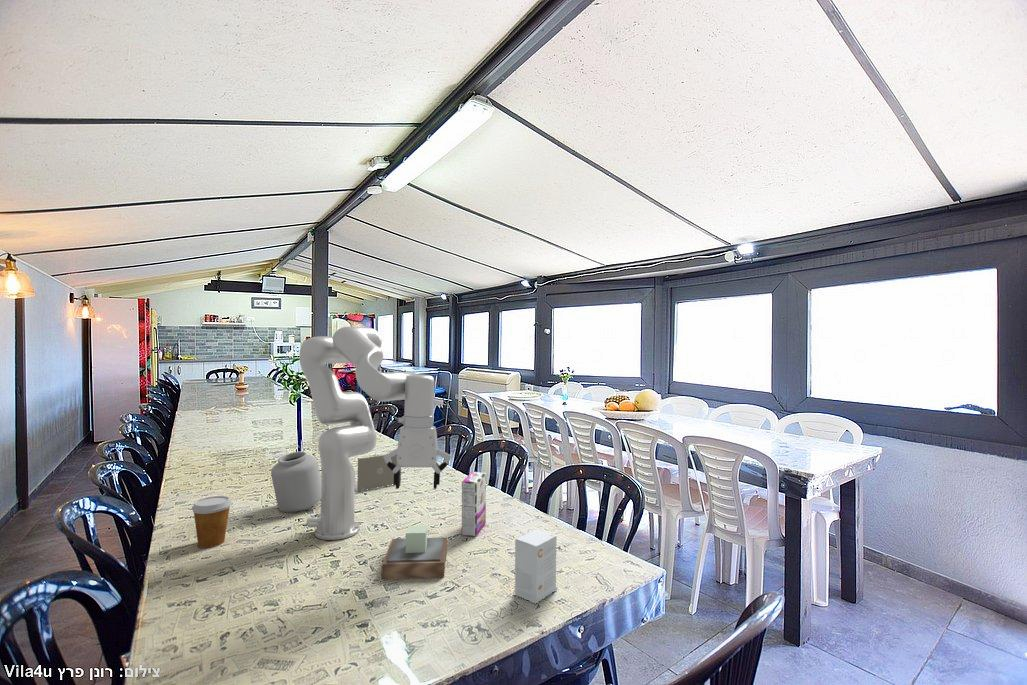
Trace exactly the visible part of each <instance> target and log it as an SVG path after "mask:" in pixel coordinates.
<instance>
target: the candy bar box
mask: <svg viewBox="0 0 1027 685" xmlns="http://www.w3.org/2000/svg"><path fill="white" fill-rule="evenodd" d="M486 475H487V473H486V472H480V471H471V472H470V473H469V474H468V475H467V476H466V478H464V479H463V480H462V481H461V536H464V535H465V536H466V537H475V538H476V537H477V536H478V535H479V533H480V532H481V531H482V529H483V527H484V526H485V525H486V524H487V523H486V522H487V521H486V520H487V519H486V518H487V517H486V514H487V510H486V509H487V508H486V507H487V506H486V505H487V503H486V502H487V501H486V500H487V498H486V497H487V492H486V491H487V490H486V489H487V487H486V486H487V485H486V484H487V483H486V482H487V477H486ZM465 536H464V537H465Z"/></svg>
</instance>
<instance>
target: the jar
mask: <svg viewBox="0 0 1027 685" xmlns="http://www.w3.org/2000/svg"><path fill="white" fill-rule="evenodd" d="M290 438H291V439H290V441H293V437H292V436H290ZM294 444H295V446H297V447H298V448H300V445H297V443H294ZM300 449H301V450H302V449H303V448H300ZM279 450H280V452H281V451H282V450H281V448H278V451H279ZM320 472H321V470H320V468H319V461H318V459H317V458H316V457H315V456H313V455H311V454H308V452H306V451H305V450H304V451H303V450H302V451H299V450H298V451H293V452H290V453H287V454H284V455H283V456H282V455H281V457H279V458H278V459H277V463H276V464H274V466H273V467H272V468H271V471H270V476H271V480H272V484H273V490H274V494H275V500H276V504H277V507H278V509H279V510H280V511H282V512H285V513H297V512H302V511H306V510H307V509H310V508H312V507H315V506H316V505H317V504H319V502H321V473H320ZM274 513H275V512H273V513H272V514H274ZM274 518H275V519H276V516H274Z"/></svg>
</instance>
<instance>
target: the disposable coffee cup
mask: <svg viewBox="0 0 1027 685" xmlns="http://www.w3.org/2000/svg"><path fill="white" fill-rule="evenodd" d="M232 504H233V503H232V500H231V497H230V496H227V495H213V496H209V497H203V498H200V499H197V500H195V501H194V502H193V506H192V507H191V510H192V513H193V517H194V524H195V531H196V538H197V547H198V548H204V549H205V548H206V549H207V548H213V547H216V546H219V545H222V544H223V543H224V542H225V538H226V532H227V525H228V522H229V521H228V519H229V514H230V508H231V506H232Z"/></svg>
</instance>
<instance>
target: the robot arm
mask: <svg viewBox="0 0 1027 685" xmlns="http://www.w3.org/2000/svg"><path fill="white" fill-rule="evenodd" d="M382 340H383V339H382V337H381V335H380V333H379V332H378V331H377V330H376V329H375V328H372V327H368V326H367V327H366V326H343V327H340V328H338V329H337V330H335V332H334V333H333V335H332V336H330V335H329V336H326V335H325V336H324V335H323V336H313V337H310V338H307V339H305V340H304V341H303V342H302V343H301V346H300V349H299V356H298V357H299V363H300V368H301V371H302V373H303V375H304V376H305V379H306V381H307V383H308V386H309V391H310V394H311V399H312V403H313V406H314V410H315V414H316V417H317V419H318V421H319V422H320V423H321V424H322V425H337V424H345V423H349V425H344V426H343V425H342V426H336V427H332V428H329V429H327V430H325V431H323V432H322V433H321V435H320V436H319V438H318V442H317V444H318V454H319V457H320V468H321V470H320V472H321V473H320V476H321V500H320V516H318V517H307V519H306V521H305V523H306V524H305V525H307V527H308V528H313V527H314V528H316V529H315V530H314V535H315V537H316V538H317V539H320V540H324V541H325V540H326V541H335V540H344V539H347V538H350V537H352V536H354V535H356V534H358V533H359V531H360V524H359V523H357V522H356V521H355V508H356V507H355V503H356V501H355V499H356V494H355V492H356V491H355V482H356V472H355V469H354V468H355V467H354V466H353V465H352V463H351V462H350V460H349V458H351V457H357V456H361V455H365V454H368V453H370V452H372V451H373V450H374V449H375V447H376V444H377V432H376V429H375V426H374V422H373V418H372V413H371V409H370V406H369V404H368V401H367V399H366V398H365V396H364V395H363V394H362V393H360V392H357V391H346V392H344V391H342V389H341V386H340V381H339V379H338V376H337V375H336V374H335V373H334V372H333V370H332V369H330V367H328V366H327V364H350V363H351V365H353V367H355V378H356V379H355V380H356V382H357V385H358V386H359V388H360V389H361V390H362V391H363V392H365V394H366V395H368V396H369V397H370V398H371V399H373V400H374V401H376V402H380V403H381V402H384V403H385V402H391V401H393V402H394V401H401V400H404V408H403V409H404V410H403V416H401V417H399V416H398V419H397V421H398V423H401V424H402V425H403V426H401V427H400V430H399V434H398V439H397V448H396V449H393V450H391V451H389V452H387V453H385V454H383V455H384V460H385V462H386V463H387V466H388V467H389V468H390V469H391V470H392V472H393V473H394V485H393V486H395V490H398V489H399V488H400V487H401V483H400V478H401V479H402V470H401V471H400V468H401V469H402V468H432V469H433V470H434V473H433V489H434V490H437V487H438V486H439V485H440V483H441V482H440V481H441V480H440V479H441V478H440V477H441V472H442V471H444V469H446V468H447V466H448V464H449V463H450V460H451V459H452V455H451V454H450V453H448V452H445V451H444V450H442V449H439V447H438V433H437V428H436V426H434V415H435V414H434V410H435V409H434V407H435V378H434V376H432V375H430V374H418V373H415V372H413V371H390V372H389V371H388V372H381V371H379V370H378V368H379V367H380V366H381V364H382V363H383V359H384V353H383V352H384V351H383V350H382V349H381V347H382ZM395 455H397V465H395V464H394V463H393V462H392V461H391V457H393V456H395ZM438 456H439V457H442V459H443V461H442V463H440V464H439V463H438Z"/></svg>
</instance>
